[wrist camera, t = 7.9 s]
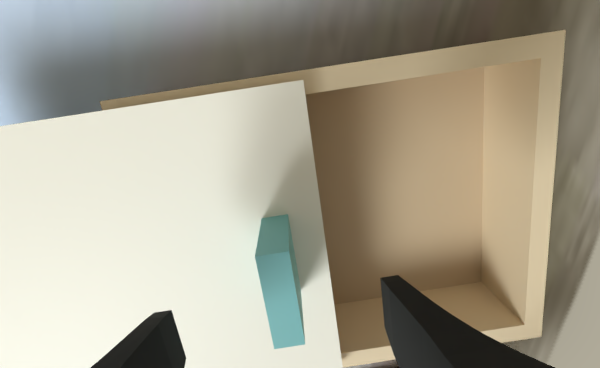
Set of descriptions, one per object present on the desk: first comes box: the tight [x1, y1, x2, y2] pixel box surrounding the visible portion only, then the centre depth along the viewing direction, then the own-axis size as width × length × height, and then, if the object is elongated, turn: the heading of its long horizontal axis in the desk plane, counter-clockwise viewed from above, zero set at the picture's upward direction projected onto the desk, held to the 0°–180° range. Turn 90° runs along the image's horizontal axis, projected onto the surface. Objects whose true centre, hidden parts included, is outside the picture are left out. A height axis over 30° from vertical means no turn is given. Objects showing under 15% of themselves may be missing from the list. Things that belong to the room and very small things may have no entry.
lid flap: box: [0, 80, 343, 368], centre depth 14 cm, size 15×19×4 cm
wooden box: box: [100, 30, 566, 367], centre depth 19 cm, size 16×20×5 cm
